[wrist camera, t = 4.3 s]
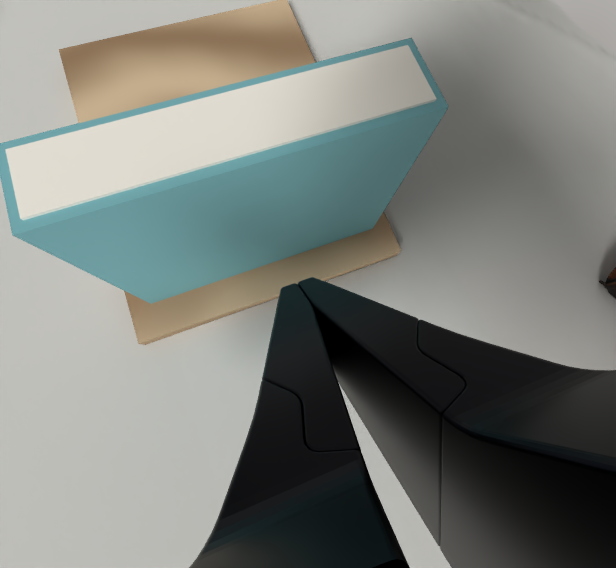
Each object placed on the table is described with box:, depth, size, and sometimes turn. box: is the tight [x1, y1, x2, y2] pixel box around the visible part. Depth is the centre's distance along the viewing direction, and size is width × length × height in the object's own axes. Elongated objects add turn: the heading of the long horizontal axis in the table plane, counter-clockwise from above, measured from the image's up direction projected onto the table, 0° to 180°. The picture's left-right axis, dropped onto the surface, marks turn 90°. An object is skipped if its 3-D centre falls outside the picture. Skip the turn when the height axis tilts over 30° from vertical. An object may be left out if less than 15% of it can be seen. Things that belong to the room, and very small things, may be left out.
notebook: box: [0, 38, 448, 304], centre depth 14 cm, size 3×12×9 cm, turn 111°
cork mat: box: [59, 0, 401, 345], centre depth 20 cm, size 18×14×1 cm
